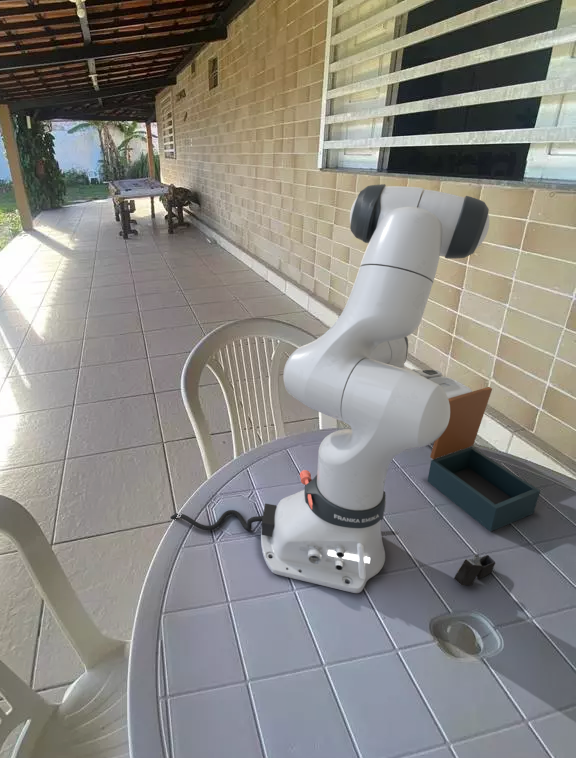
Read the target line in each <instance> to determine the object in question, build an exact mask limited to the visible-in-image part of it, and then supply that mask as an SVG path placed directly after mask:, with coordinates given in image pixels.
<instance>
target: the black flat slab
mask: <svg viewBox="0 0 576 758" xmlns="http://www.w3.org/2000/svg"><path fill="white" fill-rule="evenodd" d="M455 475H456V476H457V477H459V478H460V479H461V480H463V481H464V482H466V483H467V484H468V485H470V486H471V487H472V488H474V489H475V490H476V491H478V492H479V493H481V494H482V495H483V496H485V497H486V498H487V499H489V500H490V501H491V502H493V503H494V504H498V503H500V502H503V501H505V500H508V499H510V498H511V497H510V496H508V495H507V494H506V493H504V492H503V491H501V490H500V489H498V488H497V487H495V486H494V485H493V484H491V483H490V482H488V481H487V480H485V479H484V478H482V477H481V476H480V475H478V474H477V473H475V472H474V471H472V470H471V469H470V468H469V469H466V470H463V471H461V472H458V473H455Z"/></svg>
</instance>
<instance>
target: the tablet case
mask: <svg viewBox="0 0 576 758" xmlns="http://www.w3.org/2000/svg"><path fill="white" fill-rule="evenodd" d="M469 468H470V469H471V470H472V471H474V472H475V473H477V474H478V475H480V476H481V477H482V478H484V479H485V480H487V481H488V482H490V483H491V484H493V485H494V486H495V487H497V488H498V489H500V490H501V491H503V492H504V493H506V494H507V495H508V496H510V497H511V498H510V499H508V500H505V501H503V502H500V503H498V504H494V503H493V502H491V501H490V500H489V499H487V498H486V497H485V496H483V495H482V494H481V493H479V492H478V491H476V490H475V489H474V488H472V487H471V486H470V485H468V484H467V483H466V482H464V481H463V480H461V479H460V478H459V477H457V476H456V475H455V473H458V472H461V471H463V470H466V469H469ZM427 482H428V483H429V484H430V486H431V485H432V486H433V487H434V488H435V489H436V490H438V491H439V493H441V494H443V495H444V496H445V497H447V499H448V500H450V501H451V502H453V504H455V505H456V506H457V507H459V508H460V509H461V510H463V511H464V512H465V513H466V514H467V515H469V516H470V517H471V518H472V519H474V520H475V521H476V522H477V523H479V524H480V525H481V526H483V528H485V529H486V530H488V532H494V531H496V530H498V529H501V528H503V527H505V526H507V525H511V524H512V523H514V522H517V521H519V520H521V519H524V518H527V517H529V516H530V515H533V514H534V513H535V510H536V507H537V503H538V500H539V496H540V493H541V490H540V489H538V488H537V487H535V486H534V485H532V483H529V482H528V481H527V480H524V479H523V478H522V477H519V476H518V475H517V474H515V473H514V472H512V471H511V470H509V469H507V468H506V467H505V466H503V465H501V464H499V463H498V462H497V461H495V460H494V459H492V458H491V457H489V456H487V455H486V454H484V453H482V451H479V450H478V449H476V448H475V447H473V446H471V447H468V448H465V449H462V450H459V451H456V452H453V453H450V454H447V455H445V456H442V457H439V458H436V459H431V460H430V466H429V469H428V476H427Z"/></svg>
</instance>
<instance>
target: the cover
mask: <svg viewBox="0 0 576 758" xmlns="http://www.w3.org/2000/svg"><path fill="white" fill-rule="evenodd" d="M492 391H493V388H492V387H490V386H486V387H484V388H479V389H476V390H472V392H469V393H466V394H463V395H459V396H456V397H452V398H449V399H448V400H449V404H450V419H449V423H448V426H447V428H446V430H445V431H444V433H443V434H442V435H441V436H440V437H439V438H438V439H437V440H436V441H434V442H433V446H432V449H431V452H430V456H429V458H430V459H431V460H433V459H436V458H439V457H442V456H445V455H448V454H451V453H453V452H456V451H459V450H462V449H465V448H468V447H473V446H474V444H475V441H476V439H477V436H478V433H479V430H480V427H481V423H482V422H483V418H484V415H485V412H486V409H487V406H488V403H489V400H490V397H491V394H492Z"/></svg>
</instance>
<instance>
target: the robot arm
mask: <svg viewBox="0 0 576 758" xmlns="http://www.w3.org/2000/svg"><path fill="white" fill-rule="evenodd" d="M489 212H490V209H489V207H488V205H487V204H486V202H485V201H483V200H481V199H479V198H476V197H472V196H469V195H465V196H460V195H456V194H453V193H449V192H444V191H439V190H433V189H425V188H424V187H417V186H406V185H405V186H404V185H403V186H401V185H390V186H389V185H387V186H386V184H383V183H382V184H371V185H367V186H366V187H364V188H363V189H361V190H360V191H359V193H358V195H357V197H356V198H355V199H354V200H353V203H352V205H351V209H350V212H349V225H350V226H349V227H350V228H349V229H350V232H351V233H352V234H353V236H354V238H356V239H358V240H360V241H362V242H363V243H365V244H367V246H366V248H365V251H364V252H363V253H364V254H363V256H362V259H361V262H360V265H359V268H358V271H357V274H356V277H355V280H354V282H353V286H352V289H351V290H350V294H349V296H348V298H347V301H346V304H345V306H344V308H343V310H342V312H341V313H340V315H339V316H338V318H337V319H336V320H335V322H334V323H333V324H332V325H331V327H329V328H328V330H327V331H325V332H324V333H323V334H322V335H321V336H319V337H318V338H316V339H315V340H313V341H311V342H309V343H306V344H303V345H301V346H300V347H297V348H296V349H295V350H294V351H293V352H292V353H291V354H290V355H289V357H288V358H287V360H286V362H285V365H284V367H283V376H282V377H283V379H282V380H283V385H284V389H285V390H286V393H287V394H288V395H290V396H291V397H293V398H294V399H295V400H296V401H298V402H299V403H301V404H302V405H304V406H306V407H308V408H309V409H310V410H313V411H316V412H318V413H321V414H324V415H326V416H328V417H331V418H333V419H336V420H338V421H340V422H342V423H345V424H346V425H348V428H343V429H339V430H335V431H333V432H330V433H329V434H328V435H326V436H325V437H324V438H323V439H322V441H321V442H320V444H319V447H318V452H317V468H316V470H317V471H316V475H315V476H314V477H313V478H312V473H311V472H310V471H309V470H308V469H307V470H306V469H303V470H301V471H300V473H299V477H300V483H301V484H302V485H304V489H302V490H299V491H297V492H295V493H293V494H290V495H287V496H285V497H283V498H281V499H280V501H278V503H277V504H271V503H265V504H264V508H263V514H262V515H260V516H256V515H255V516H251V517H250V518H248V520H247V521H245V519H244V517H243V515H242V514H241V513H240V512H239V511H237V510H235V509H229V510H226V511H224V512H223V513H222V514H221V516H220V517H219V518H218V520H217V521H216V522H215V523H213V524H210V525H205V524H202V523H199V522H198V521H196V520H194V519H193V518H192V517H189V516H188V515H186V514H184V513H181V514H182V515H181V517H180V518H179V519H182V520H184V521H185V522H187V523H189V524H190V525H192V526H194V527H195V528H197V529H199V530H202V531H214V530H216V529H218V528H219V527H220V526H222V524H223V523H224V521H225V519H226V518H228V516H233V515H234V516H235V517H237V520H238V522H239V523H240V525H241V526H242V527H243V529H244V530H245V531H251V529H252V527H253V525H252V524H253V523H256V522H261V530H260V548H261V552H262V556H263V560H264V562H265V564H266V566H267V567H268V569H269V571H270V572H271V573H272V574H274V575H277V576H281V577H285V578H288V579H289V578H290V579H293V580H297V581H303V582H306V583H310V584H314V585H319V586H323V587H327V588H331V589H336V590H340V591H344V592H347V593H352V594H360V593H362V591H363V590H364V588H365V586H366V584H367V582H368V581H369V580H370V579H371V578H374V577H375V576H377V575H378V573H379V572H380V571H381V570H382V569H383V567H384V565H385V562H386V551H385V547H384V543H383V535H382V520H383V519H384V514H385V512H386V504H387V503H386V502H387V501H386V499H387V497H386V496H387V495H386V494H387V493H386V491H385V485H386V479H387V475H388V471H389V469H390V468H389V467H390V465H391V463H392V461H393V460H394V459H395V458H396V457H397V456H398V455H399V454H401V453H403V452H406V451H409V450H412V449H419V448H420V449H421V448H425V447H428V446H429V445H431V444H434V441H436V440H437V439H438V438H439V437H440V436H441V435H442V434H443V433H444V431H445V430H446V428H447V426H448V423H449V419H450V404H449V400H448V399H449V398H452V397H456V396H459V395H463V394H466V393H469V392H473V390H472V389H471V388H470V387H469V386H467V385H465V384H464V383H462V382H460V381H458V380H456V379H454V378H452V377H449V376H445V375H443V373H442V372H441V371H440V370H437V369H416V368H409V367H407V366H406V365H405V364H406V362H407V358H408V352H409V339H408V336H410V335H412V334H413V333H414V332H415V331H416V330H418V328H419V327H420V325H421V322H422V319H423V316H424V313H425V311H426V310H425V309H426V307H427V304H428V301H429V297H430V294H431V291H432V288H433V284H434V282H435V278H436V275H437V271H438V266H439V261H440V257H444V258H445V259H451V260H453V259H456V260H457V259H465V258H467V257H469V256H471V255H473V254H474V253H475V251H476V250H477V249H478V248H479V247H480V246H481V245H482V243H483V242H484V241H485V239H486V237H487V235H488V232H489V229H490V215H489ZM349 427H350V428H349ZM178 513H179V512H177V513H174V514H172V515H171V516H170V519H171V520H175V519H177V518H176V517H177V515H178ZM179 516H180V515H179Z"/></svg>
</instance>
